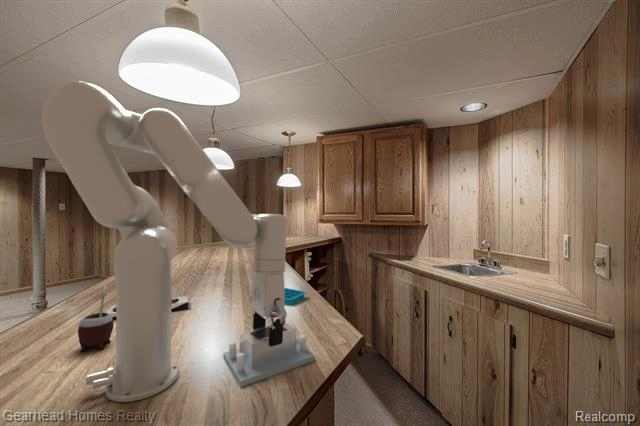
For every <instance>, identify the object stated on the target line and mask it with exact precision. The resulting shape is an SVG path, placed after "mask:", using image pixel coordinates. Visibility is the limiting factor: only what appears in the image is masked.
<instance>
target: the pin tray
mask: <svg viewBox="0 0 640 426" xmlns="http://www.w3.org/2000/svg"><path fill="white" fill-rule="evenodd" d="M291 326H292V325H291ZM292 327H294V328H296V327H295V326H292ZM228 345H229V346H228V349H229V350H228V351H225V352H223V355H222V356H223V360H224V362H225V363H226V365H227V366H228V368H229V370H230V372H231V374H232V376H233V377H234V379H235V380H236V382H237V384H238V386H239V387H240V388H242V387H245V386H249V385H250V384H253V383H256V382H259V381H262V380H264V379H267V378H270V377H273V376H276V375H278V374H279V375H280V374H281V373H284V372H287V371H289V370H292V369H295V368H298V367H301V366H304V365H306V364H308V363H309V364H310V363H311V362H312V363H313V362H314V361H316V355H315V354H313V353H312V351H310V350H309V349H307V335H306V334H302V335H301V334H300V337H299V341H298V340H297V339H296V351H295V352H292V353H290V354H287V355H285V356H283V357H280V358H278V359H275V360H273V361H270V362H268V363H266V364H263V365H261V366H258V367H256V368H254V369H251V368H250V367H249V366H248V365H247V364H245V353H240V348H237V342H236V341H231V342H229V344H228Z"/></svg>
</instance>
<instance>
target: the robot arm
mask: <svg viewBox="0 0 640 426" xmlns="http://www.w3.org/2000/svg"><path fill="white" fill-rule="evenodd" d="M41 120H42V121H41V122H42V128H43V129H42V130H43V133H44V135H45V138H46V141H47V143H48V145H49V147H50V148H51V150H52V152H53V153H54V155H55V157H56V158H57V161H59V163H60V165H61V166H62V167H63V169H64V171H65V173H66V174H67V176H68V177H69V180H70V181H71V184H72V185H73V186H74V189H75V190H76V191H77V193H78V195H79V196H80V198H81V200H82V201H83V203H84V204H85V206H86V207H87V209H88V211H89V213H90V214H91V216H92V218H93V219H94V220H95V221H96V222H97V223H98V224H100V225H101V226H103V227H106V228H110V229H117V230H118V231H119V233H120V234H121V236H122V239H120V240H119V242H118V243H117V245H116V247H115V250H114V253H113V258H112V263H113V265H112V266H113V273H114V280H115V292H116V293H115V295H116V296H115V297H116V301H115V304H116V305H115V306H116V312H117V320H116V326H115V327H116V329H115V330H116V336H115V337H116V338H115V339H116V340H115V342H116V343H115V351H116V352H115V361H114V364H113V365H112V366H108V368H107V369H105V370H101V371H95V372H91V373H87V374H86V377H85V378H86V379H85V385H86V386H90V385H92V389H93V390H95V389H98V388H102V387H103V386H105V396H106V398H108V399H109V400H111V401H113V402H119V403H129V402H137V401H140V400H141V401H142V400H144V399H147V398H151V397H152V396H155V395H157V394H158V393H161V392H163V391H164V390H166V389H167V388H169V387H170V386H171V385H172V384H174V383H175V381H176V380H177V378H178V377H179V373H180V367H179V365H178V364H177V362H175V361H172V312H171V303H172V302H171V299H172V296H173V295H172V290H173V289H172V273H171V271H172V269H171V268H172V267H171V266H172V260H173V259H174V257H175V256H176V254H177V252H178V239H177V237H176V235H175V233H174V231H173V230H172V228H171V226H170V225H169V223H168V222H167V219H166V217H165V216H164V214H163V212H162V211H161V209H160V208H159V206H158V204H157V202H156V200H155V199H154V198H153V196H152V195H151V194H150V193H149V192H148V191H147V190H146V189H144V188H142V187H140V186H137V185H135V183H134V182H133V181H132V180H131V177H129V175H128V173H127V172H126V170H125V168H124V167H123V166H122V162H120V159H119V157H118V156H117V155H116V153H115V152H114V151H113V149H112V148H111V146H110V145H113V146H118V147H122V148H126V149H129V150H134V151H139V152H143V153H147V154H151V155H155V157H156V158H157V159H158V160H159V161H160V162H161V164H162V165H163V167H165V169H166V170H167V171H168V173H169V174H170V176H172V178H173V179H174V181H175V182H176V183H177V184H178V185H179V187H180V188H181V189H182V191H183V193H185V195H186V196H188V198H189V199H191V201H192V202H193V203H194V204H195V206H196V207H197V208H198V209H199V211H200V212H201V214H203V216H204V217H205V218H206V219H207V221H208V222H209V223H210V224H211V226H212V227H213V228H214V230H215V231H216V232H217V233H218V235H219V237H220V238H221V239H222V240H223V241H224V242H225V243H226V244H228V245H229V246H231V247H234V248H244V247H246V246H249V245H250V244H251V243H253V263H252V265H253V268H252V272H253V274H252V281H251V290H250V291H251V293H250V308H251V309H252V312H253V314H252V315H253V316H252V329H253V330H256V329H259V328H262V327H266V326H267V325H266V323H267V322H266V321H267V320H266V319H267V318H268V321H269V325H270V326H271V328H269V346H270V347H272V346H275V345H279V344H282V341H283V327H284V323H286V318H287V315H288V314H287V313H288V312H287V311H286V309H285V305H284V301H285V292H284V288H285V277H284V273H285V272H286V245H287V242H286V241H287V217H286V216H285V215H284V214H281V213H280V214H279V213H259V214H255V213H251V212H250V211H249V209H248V208H247V206H246V205H245V204H244V202H242V200H241V199H240V197H239V196H238V194H237V193H236V192H235V191H234V189H233V188H232V187H231V186H230V184H229V183H228V181H227V180H226V179H225V178H224V176H223V175H222V173H221V171H220V170H219V169H218V167H216V165H215V164H214V162H213V161H212V159H210V158H209V156H208V155H207V153H206V152H205V151H204V149H203V148H202V147H201V146H200V143H199V142H198V141H197V140H196V139H195V137H194V136H193V134H192V133H191V132H190V130H189V129H188V128H187V126H186V125H185V123H184V122H183V121H182V120H181V119H180V118H179V116H177V114H175V113H174V112H172V111H170V110H168V109H166V108H161V107H156V108H151V109H148V110H146V111H145V112H144V113H143V114H140V113H136V112H134V111H130V110H127V109H125V108H124V107H123V106H122V105H121V104H120V102H118V101H117V100H116V99H115V97H113V96H112V95H111V94H110V93H108V92H107V91H106V90H105V89H103V88H101V87H100V86H97V84H93V83H89V82H85V81H80V80H79V81H77V80H75V81H74V80H73V81H69V82H66V83H62V85H60V86H58V87H56V88H55V90H53V91H52V92H51V93H50V95H49V96H48V98H47V99H46V101H45V103H44V106H43V110H42V116H41ZM109 144H110V145H109ZM274 318H276V319H275V320H274Z"/></svg>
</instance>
